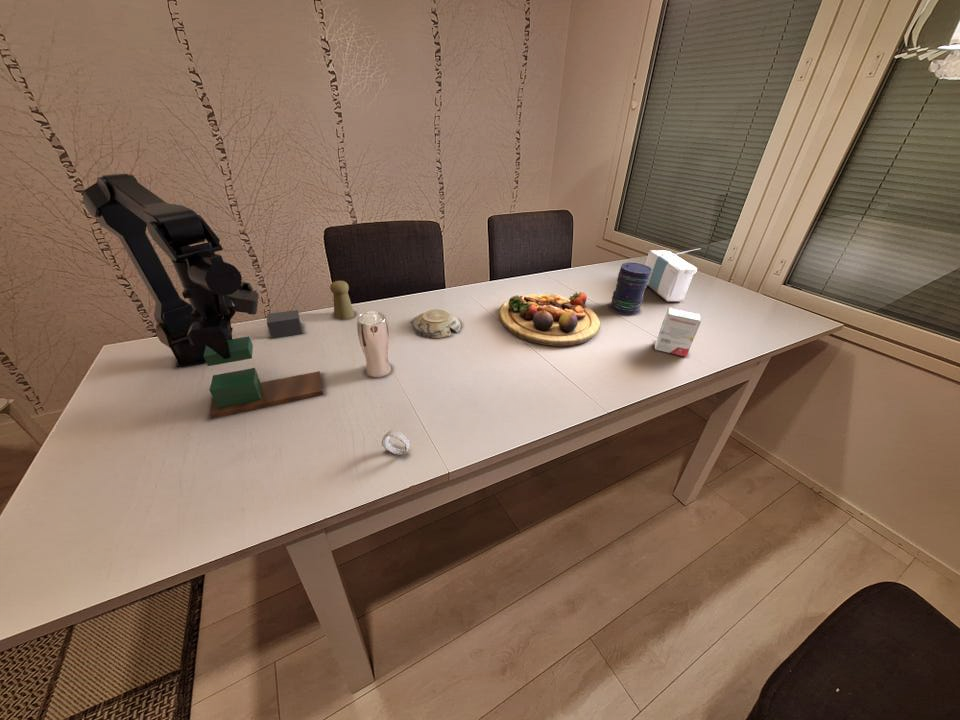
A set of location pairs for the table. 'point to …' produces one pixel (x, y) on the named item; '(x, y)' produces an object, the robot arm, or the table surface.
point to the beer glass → (374, 342)
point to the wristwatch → (389, 447)
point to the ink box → (677, 332)
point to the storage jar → (630, 288)
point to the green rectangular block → (231, 352)
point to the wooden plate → (550, 319)
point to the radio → (669, 274)
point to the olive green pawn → (341, 300)
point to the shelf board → (276, 393)
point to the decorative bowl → (436, 324)
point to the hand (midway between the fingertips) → (228, 351)
